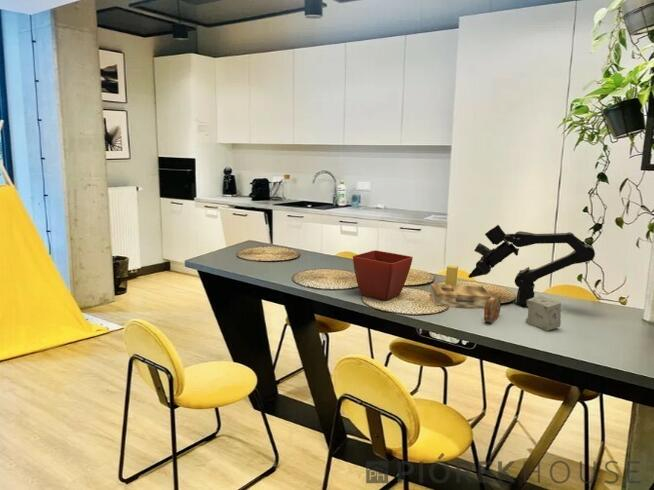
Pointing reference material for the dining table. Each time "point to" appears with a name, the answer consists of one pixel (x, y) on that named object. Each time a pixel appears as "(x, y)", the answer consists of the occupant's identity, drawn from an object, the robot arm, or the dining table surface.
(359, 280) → the plant pot
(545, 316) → the grey concrete block
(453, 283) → the yellow block
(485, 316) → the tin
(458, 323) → the dining table surface
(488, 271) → the robot arm
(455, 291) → the tan flat piece
